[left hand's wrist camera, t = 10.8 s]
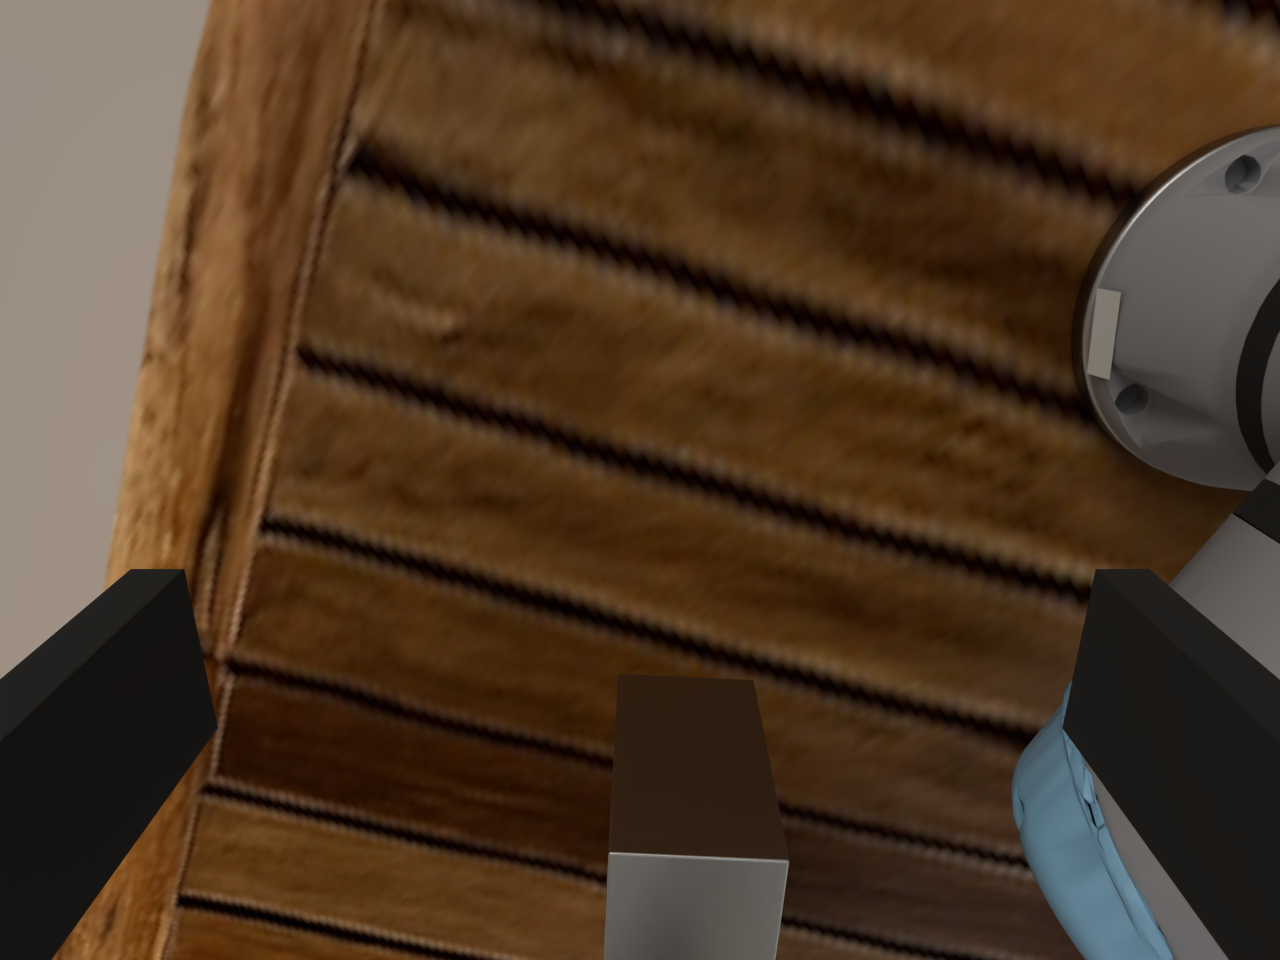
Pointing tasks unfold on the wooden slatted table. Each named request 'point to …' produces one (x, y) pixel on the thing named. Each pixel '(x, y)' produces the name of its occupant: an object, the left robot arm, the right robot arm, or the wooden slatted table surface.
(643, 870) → the bar
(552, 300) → the wooden slatted table surface
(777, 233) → the wooden slatted table surface
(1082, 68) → the wooden slatted table surface
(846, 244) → the wooden slatted table surface
